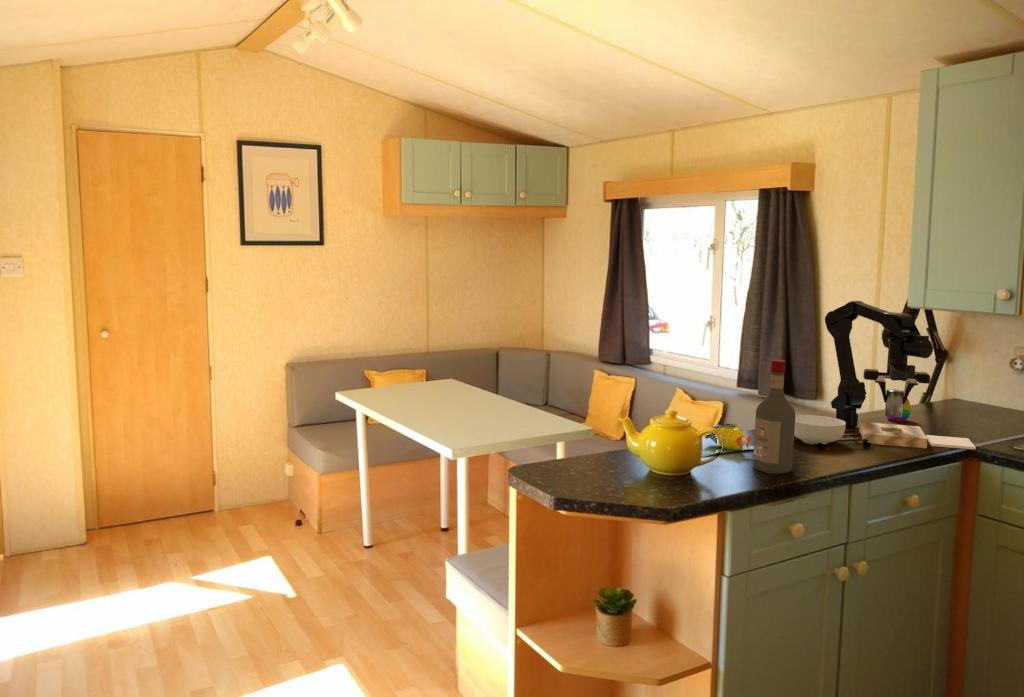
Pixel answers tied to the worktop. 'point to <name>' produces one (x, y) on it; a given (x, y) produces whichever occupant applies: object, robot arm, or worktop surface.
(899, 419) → the decorative egg
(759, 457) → the liquor
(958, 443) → the ceramic tile
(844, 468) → the worktop surface
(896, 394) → the metal part
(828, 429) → the cereal bowl
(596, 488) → the worktop surface
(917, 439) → the pocket block
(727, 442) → the colourful shoe
